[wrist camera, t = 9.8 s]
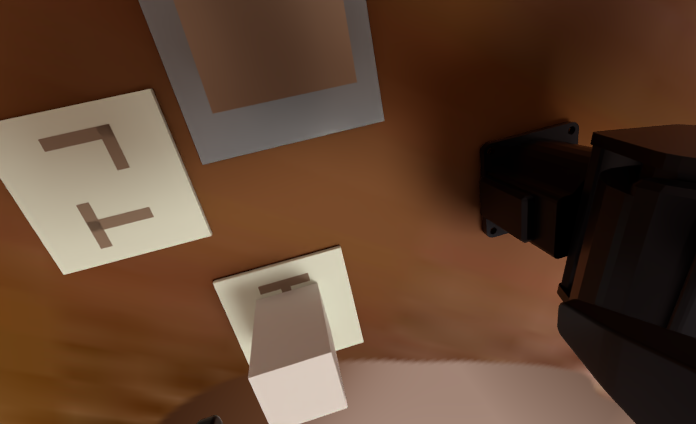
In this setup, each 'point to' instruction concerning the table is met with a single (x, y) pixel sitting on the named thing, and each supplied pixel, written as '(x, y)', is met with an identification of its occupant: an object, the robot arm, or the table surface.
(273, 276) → the code tile
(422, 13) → the table surface
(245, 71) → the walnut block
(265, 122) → the slate coaster
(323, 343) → the beige block
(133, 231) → the cream glyph tile
